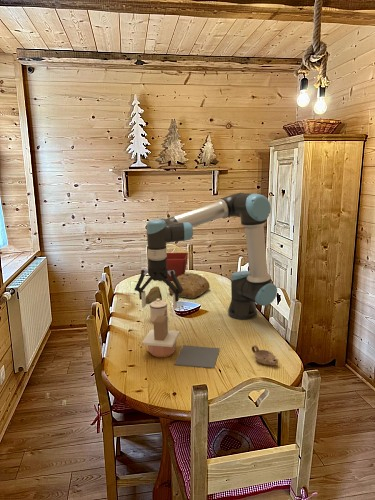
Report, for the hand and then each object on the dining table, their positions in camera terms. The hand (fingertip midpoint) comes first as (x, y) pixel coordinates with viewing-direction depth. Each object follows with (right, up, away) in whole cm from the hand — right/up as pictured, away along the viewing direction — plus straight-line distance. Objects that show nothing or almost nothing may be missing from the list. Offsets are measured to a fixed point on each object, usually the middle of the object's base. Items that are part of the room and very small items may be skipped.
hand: (159, 307), depth 155 cm
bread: (+14, -3, +78) cm, 79 cm away
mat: (+16, -20, -1) cm, 26 cm away
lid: (+1, -14, +3) cm, 14 cm away
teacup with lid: (-3, -12, +38) cm, 40 cm away
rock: (-8, -7, +64) cm, 65 cm away
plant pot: (+2, +4, +106) cm, 106 cm away
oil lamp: (+43, -21, -6) cm, 48 cm away
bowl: (+1, -20, +5) cm, 20 cm away
